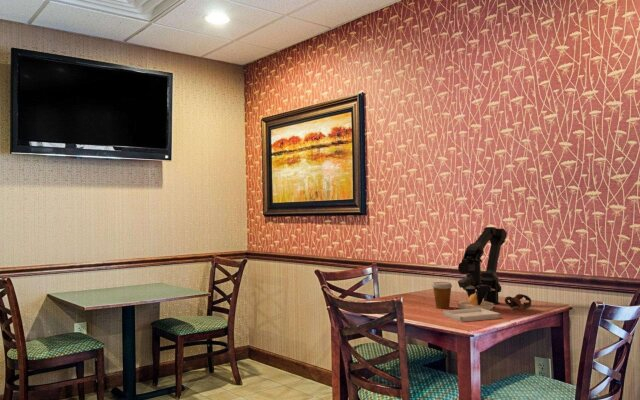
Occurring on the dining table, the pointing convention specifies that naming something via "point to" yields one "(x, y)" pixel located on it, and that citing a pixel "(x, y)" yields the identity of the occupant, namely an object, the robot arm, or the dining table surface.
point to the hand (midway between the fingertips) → (475, 304)
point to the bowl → (467, 305)
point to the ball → (473, 300)
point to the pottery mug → (518, 302)
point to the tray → (471, 314)
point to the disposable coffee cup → (442, 294)
